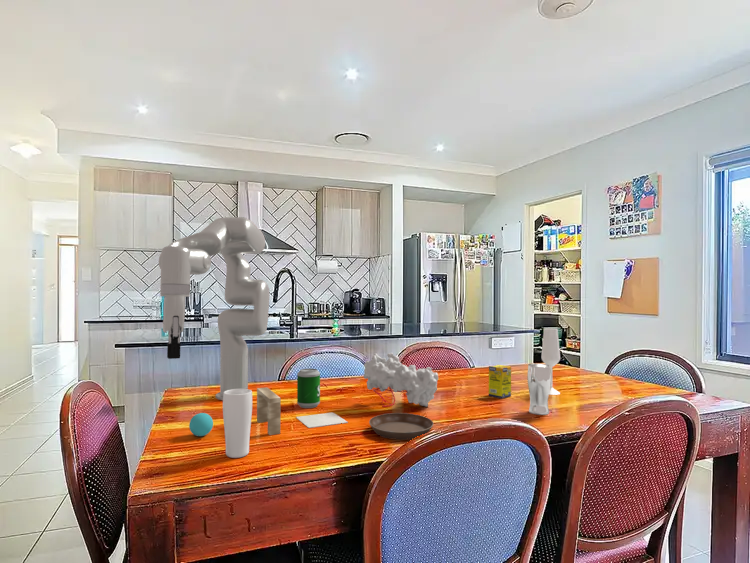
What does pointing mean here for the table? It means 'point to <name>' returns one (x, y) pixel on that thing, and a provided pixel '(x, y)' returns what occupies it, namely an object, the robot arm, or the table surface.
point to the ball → (201, 424)
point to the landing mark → (321, 420)
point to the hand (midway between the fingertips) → (173, 358)
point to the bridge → (269, 409)
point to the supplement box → (500, 381)
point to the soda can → (308, 388)
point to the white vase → (539, 388)
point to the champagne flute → (551, 352)
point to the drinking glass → (237, 421)
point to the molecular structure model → (400, 379)
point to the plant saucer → (400, 425)
